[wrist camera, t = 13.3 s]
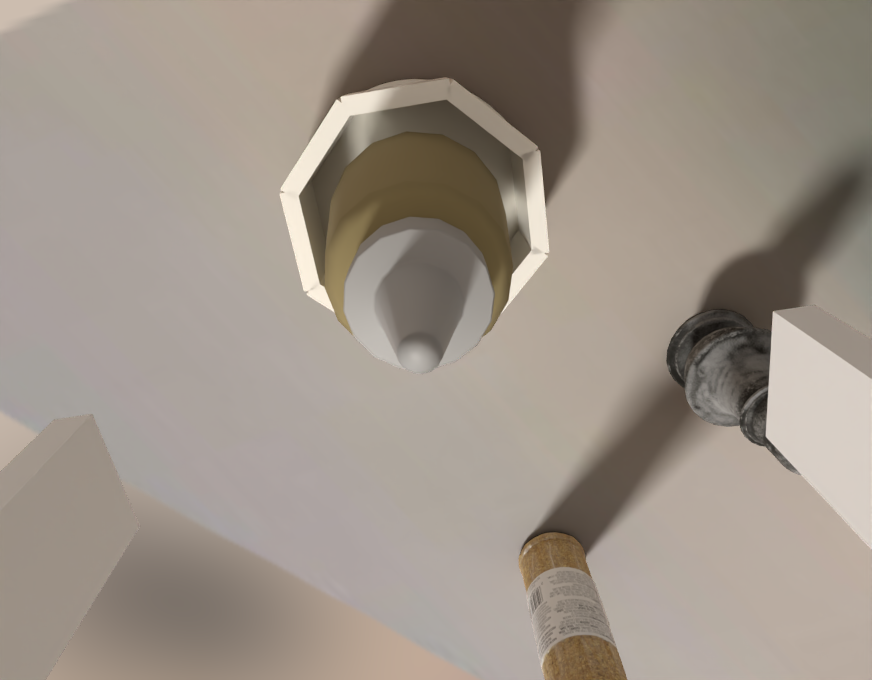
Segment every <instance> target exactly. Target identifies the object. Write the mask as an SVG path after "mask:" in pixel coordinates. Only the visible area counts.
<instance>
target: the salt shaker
mask: <svg viewBox="0 0 872 680" xmlns="http://www.w3.org/2000/svg"><path fill="white" fill-rule="evenodd" d="M771 337H772V332H771V331H769V330H766V329H761V328H755V327H753V326H752V324H751V323H750V322H749V321H748V320H747V319H746V318H745V317H744V316H742V315H740V314H738V313H736V312H734V311H728V310H722V309H721V310H710V311H707V312H704V313H701V314H698V315H696V316H694V317H693V318H691V319H689V320H688V321H686V322H685V323H684V324H683V325H682V326H681V327H680V328H679V329H678V330H677V331H676V333H675V334H674V336H673V337H672V339H671V341H670V344H669V347H668V350H667V365H668V369H669V372H670V374H671V375H672V377H673V379H674V380H675V381H676V382H677V383H678V384H680V385H681V386H682V387H684V388H685V394H686V398H687V402H688V403H689V405H690V407H691V408H692V410H693V411H694V412H695V413H696V414H697V415H698V416H699V417H700V418H702V419H703V420H705V421H707V422H709V423H712V424H714V425H720V426H726V427H730V426H740V428H741V431H742V432H743V434H744V436H745V437H746V438H747V439H748V440H750V441H751V442H752V443H754V444H757V445H759V446H765V447H766V448H767V449H768V450H769V451H770V452H771V453H772V454H773V455H774V456H775V457H776V458H777V459H778V461H779V462H780V463H781V464H782V465H783V466H784V467H786V468H787V469H788V470H790V471H791V472H793V473H796V474H798V475H801V474H800V473H799V472H798V471H797V469H796V468H795V467H794V466H793V465H792V464H791V463H790V462H789V461H788V460H787V459H786V458H785V457H784V456H783V455H782V453H781V452H780V451H779V450H778V449H777V448H776V447H775V446H774V445H773V444H772V443H771V442H770V441H769V440H768V439H767V437H766V421H767V404H768V388H769V371H770V354H771Z"/></svg>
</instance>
